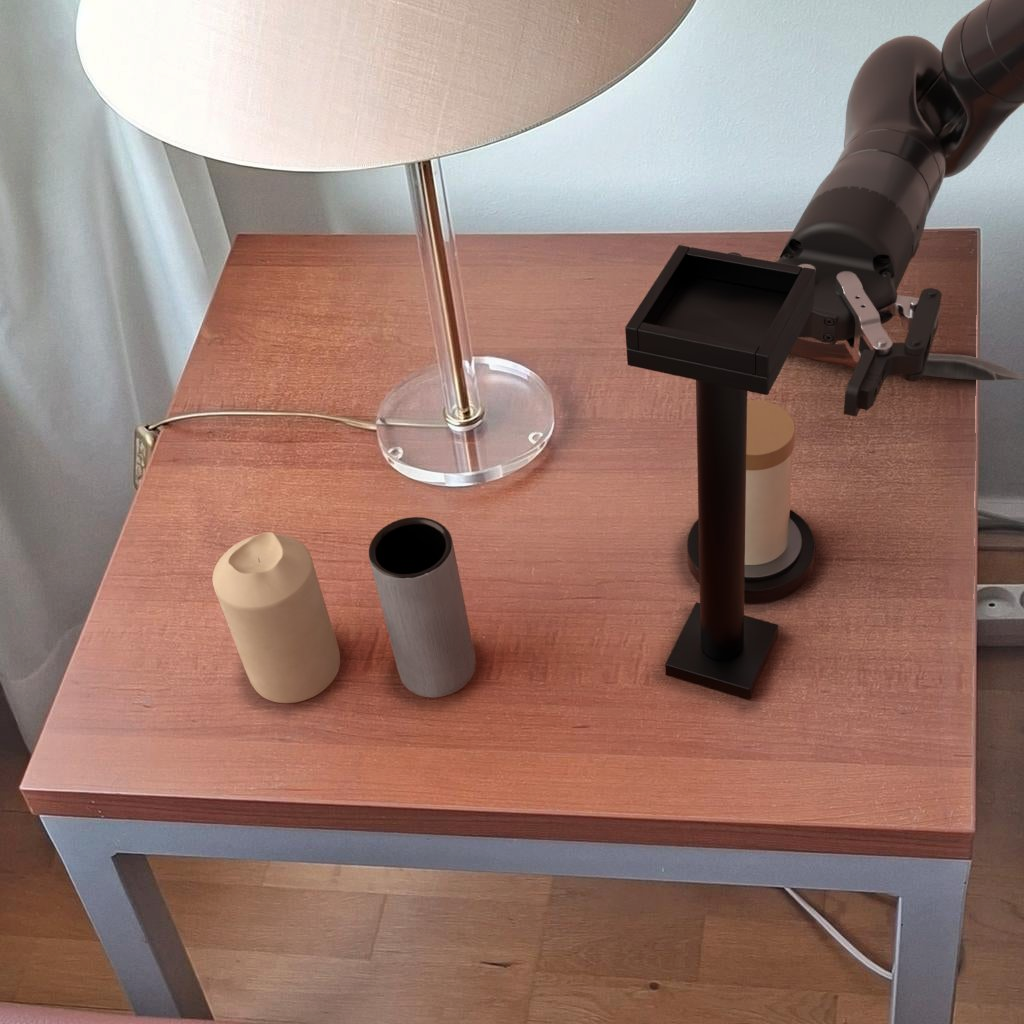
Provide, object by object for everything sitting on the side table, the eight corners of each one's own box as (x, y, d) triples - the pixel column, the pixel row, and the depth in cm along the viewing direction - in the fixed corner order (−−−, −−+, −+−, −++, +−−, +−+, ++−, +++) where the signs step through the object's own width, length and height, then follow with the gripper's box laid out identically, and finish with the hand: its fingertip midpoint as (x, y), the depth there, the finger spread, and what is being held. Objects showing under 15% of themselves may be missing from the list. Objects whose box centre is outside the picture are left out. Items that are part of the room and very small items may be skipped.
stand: (796, 629, 82) (815, 268, 64) (759, 715, 78) (768, 356, 60) (688, 599, 84) (678, 244, 66) (646, 681, 80) (624, 327, 62)
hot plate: (830, 529, 87) (831, 512, 86) (791, 618, 82) (792, 601, 81) (712, 500, 90) (712, 483, 89) (668, 584, 85) (668, 567, 84)
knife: (1026, 397, 94) (1027, 371, 96) (1031, 379, 93) (1031, 353, 95) (748, 363, 98) (755, 338, 100) (750, 344, 97) (756, 320, 99)
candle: (285, 620, 86) (246, 503, 79) (359, 649, 84) (326, 532, 77) (230, 685, 83) (184, 570, 76) (305, 717, 81) (265, 602, 74)
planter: (488, 649, 83) (466, 526, 76) (455, 707, 80) (428, 586, 73) (420, 629, 85) (392, 507, 77) (385, 686, 82) (352, 565, 75)
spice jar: (800, 522, 85) (806, 409, 79) (775, 575, 83) (779, 462, 76) (727, 504, 87) (728, 392, 81) (701, 555, 84) (699, 443, 78)
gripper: (753, 167, 92) (661, 314, 82) (976, 202, 86) (907, 363, 77) (751, 263, 97) (665, 411, 87) (962, 301, 92) (895, 464, 82)
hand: (778, 388), depth 82 cm, fingers open, 8 cm apart
